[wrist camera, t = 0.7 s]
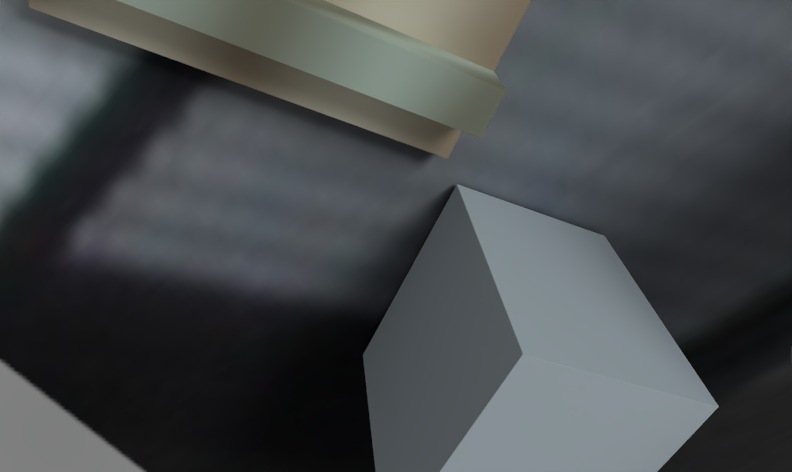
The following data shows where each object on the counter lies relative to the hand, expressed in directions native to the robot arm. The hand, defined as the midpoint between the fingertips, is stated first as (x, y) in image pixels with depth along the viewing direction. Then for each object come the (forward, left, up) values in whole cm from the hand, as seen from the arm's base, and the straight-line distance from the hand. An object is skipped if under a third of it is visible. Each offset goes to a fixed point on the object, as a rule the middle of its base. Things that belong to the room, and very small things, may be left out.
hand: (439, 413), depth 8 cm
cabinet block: (-8, +7, -13) cm, 17 cm away
